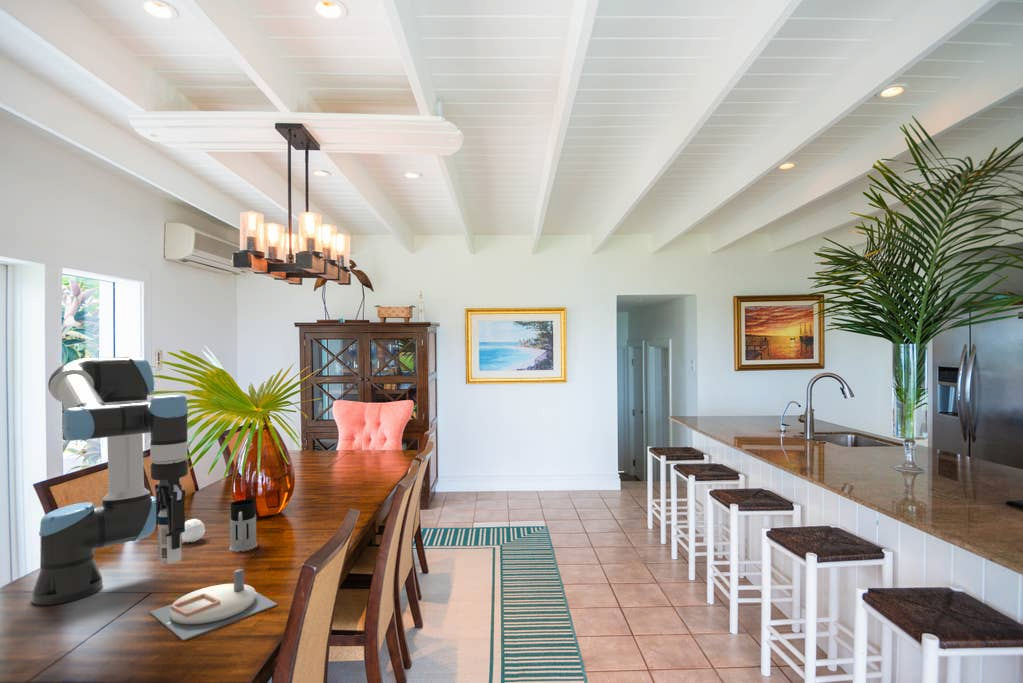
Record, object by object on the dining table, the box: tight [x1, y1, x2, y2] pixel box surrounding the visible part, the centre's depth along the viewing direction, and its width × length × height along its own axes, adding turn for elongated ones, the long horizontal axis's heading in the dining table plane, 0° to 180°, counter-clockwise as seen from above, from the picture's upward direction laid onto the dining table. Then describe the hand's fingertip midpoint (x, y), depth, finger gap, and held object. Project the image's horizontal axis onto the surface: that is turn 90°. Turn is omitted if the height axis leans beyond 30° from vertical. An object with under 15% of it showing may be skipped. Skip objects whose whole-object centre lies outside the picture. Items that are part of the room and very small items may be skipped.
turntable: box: [170, 568, 256, 624], centre depth 140 cm, size 19×19×7 cm
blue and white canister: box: [157, 508, 183, 564], centre depth 131 cm, size 5×5×12 cm
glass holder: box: [228, 499, 258, 553], centre depth 183 cm, size 9×14×15 cm, turn 20°
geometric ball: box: [182, 518, 206, 543], centre depth 193 cm, size 8×8×8 cm
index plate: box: [149, 591, 278, 642], centre depth 140 cm, size 22×22×1 cm
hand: (170, 558), depth 131 cm, fingers closed on blue and white canister, 5 cm apart
